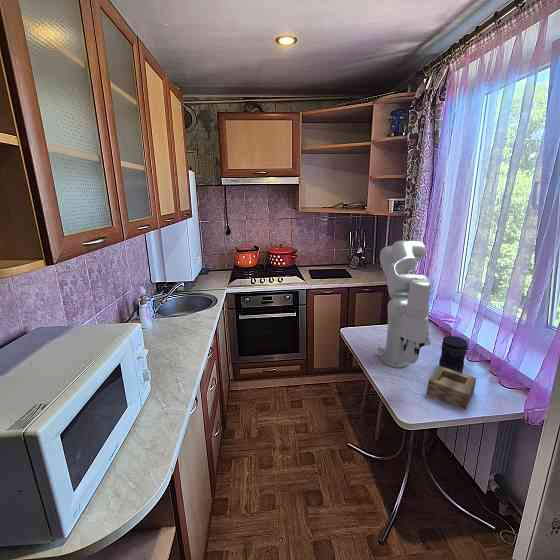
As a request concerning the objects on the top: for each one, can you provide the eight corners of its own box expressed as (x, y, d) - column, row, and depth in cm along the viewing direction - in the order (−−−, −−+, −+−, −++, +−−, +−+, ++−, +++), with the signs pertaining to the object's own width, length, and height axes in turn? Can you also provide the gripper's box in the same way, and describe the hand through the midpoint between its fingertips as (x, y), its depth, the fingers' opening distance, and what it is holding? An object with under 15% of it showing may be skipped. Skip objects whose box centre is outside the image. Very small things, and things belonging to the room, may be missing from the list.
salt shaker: (414, 356, 132) (418, 328, 128) (420, 364, 127) (424, 335, 123) (400, 357, 132) (403, 328, 128) (405, 365, 127) (409, 335, 123)
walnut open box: (426, 395, 129) (428, 380, 127) (436, 379, 139) (439, 365, 137) (465, 410, 120) (468, 394, 118) (473, 392, 130) (476, 377, 128)
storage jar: (434, 364, 151) (438, 335, 146) (455, 364, 150) (460, 335, 146) (444, 376, 141) (449, 346, 137) (467, 376, 141) (472, 346, 136)
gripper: (391, 309, 125) (387, 350, 131) (435, 321, 115) (428, 365, 121) (399, 303, 131) (395, 343, 136) (442, 314, 120) (435, 357, 126)
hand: (410, 353), depth 129 cm, fingers closed on salt shaker, 3 cm apart
